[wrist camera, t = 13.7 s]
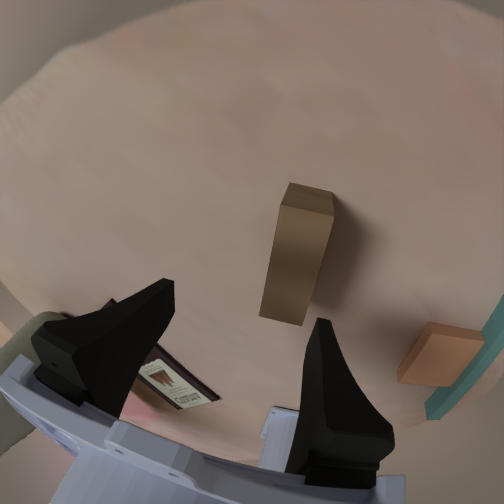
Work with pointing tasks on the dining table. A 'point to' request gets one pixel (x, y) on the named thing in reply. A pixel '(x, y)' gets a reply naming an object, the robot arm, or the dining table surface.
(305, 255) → the tall cardboard box
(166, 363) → the chocolate bar
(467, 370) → the rail
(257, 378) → the dining table surface
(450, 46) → the dining table surface
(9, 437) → the olive grey vase
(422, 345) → the tile
